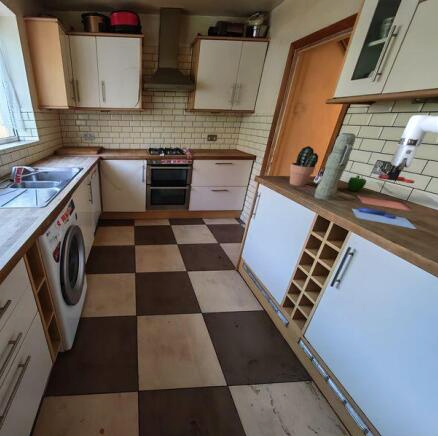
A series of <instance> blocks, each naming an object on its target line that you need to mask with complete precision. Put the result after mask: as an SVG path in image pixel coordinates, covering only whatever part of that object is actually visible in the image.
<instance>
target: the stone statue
mask: <svg viewBox="0 0 438 436" xmlns="http://www.w3.org/2000/svg"><path fill="white" fill-rule="evenodd" d="M355 143H356V134H354V133H350V132H342V133H340V134H339V135H338V136H337V138H336V139H335V143H334V144H333V149H332V151H331V152H330V154H329V155H328V157H327V161H326V162H325V166H324V171H323V173H322V177H321V179H320V182H319V183H318V184H317V187H316V189H315V191H314V192H315V193H314V199H317V200H323V201H333V199H334V197H335V196H336V193H337V191H338V185H339V182H340V180H341V178H342V175H343V172H344V171H345V170H346V168H347V166H348V163H349V161H350V155H351V151H352V149H353V147H354V144H355Z"/></svg>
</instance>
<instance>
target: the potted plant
mask: <svg viewBox="0 0 438 436" xmlns="http://www.w3.org/2000/svg"><path fill="white" fill-rule="evenodd" d="M318 162H319V155H318V154H317V152H314V148H313V147H311V146H310V145H307V146H304V147H302V148H301V150H300V151H299V152H298V154H297V157H296V161H295V162H291V164H290V168H289V172H290V173H289V184H290V185H291V186H295V187H305V185H306V184H307V182H308V181H309V179H310V177H311V175H313V174H314V172H315V169H316V165H317V163H318Z"/></svg>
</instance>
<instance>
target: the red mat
mask: <svg viewBox="0 0 438 436" xmlns="http://www.w3.org/2000/svg"><path fill="white" fill-rule="evenodd" d="M357 198H358V199H359V201H360V202H361V203H363V204H367V205H373V206H379V207H386V208H391V209H396V210H397V209H398V210H403V211H409V212H414V210H413V209H412V208H411V207H409V205H407V204H406V203H405V202H398V201H391V200H386V199H379V198H373V197H366V196H359V195H357Z"/></svg>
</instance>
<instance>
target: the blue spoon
mask: <svg viewBox="0 0 438 436" xmlns="http://www.w3.org/2000/svg"><path fill="white" fill-rule="evenodd" d="M357 210H358V211H360V212H364V213H370V214H376V215H381V216H384V217H387V218H391V219H395V218H396V217H397V215H395V214H393V213H389V212H386V211H385V210H380V209H374V208H367V207H362V206H361V207H358V209H357Z"/></svg>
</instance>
